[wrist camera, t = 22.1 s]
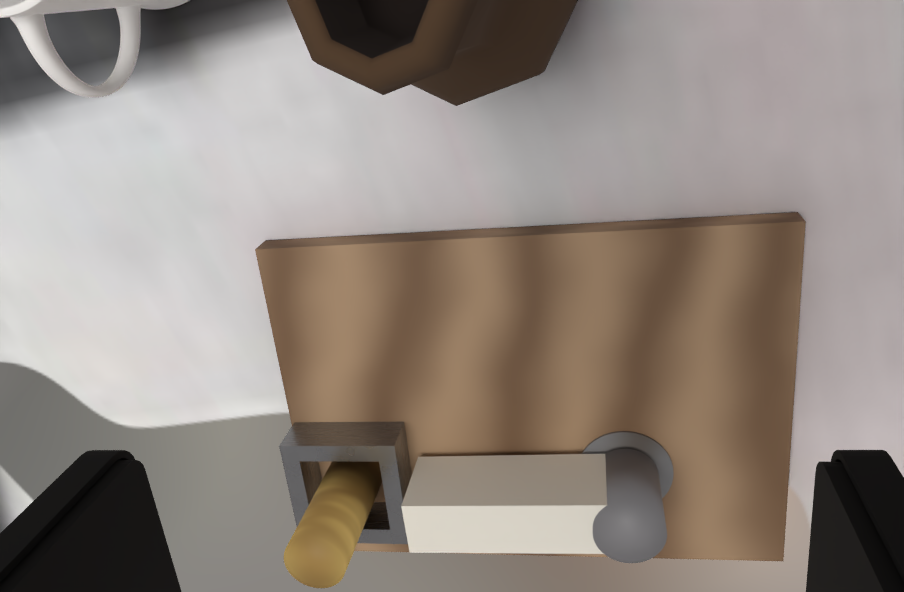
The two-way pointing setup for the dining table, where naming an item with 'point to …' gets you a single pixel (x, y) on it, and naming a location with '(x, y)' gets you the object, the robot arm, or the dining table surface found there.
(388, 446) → the collar
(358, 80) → the beer bottle
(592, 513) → the handle
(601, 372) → the board
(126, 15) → the mug
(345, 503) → the pin
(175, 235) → the dining table surface
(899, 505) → the robot arm
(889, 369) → the dining table surface
